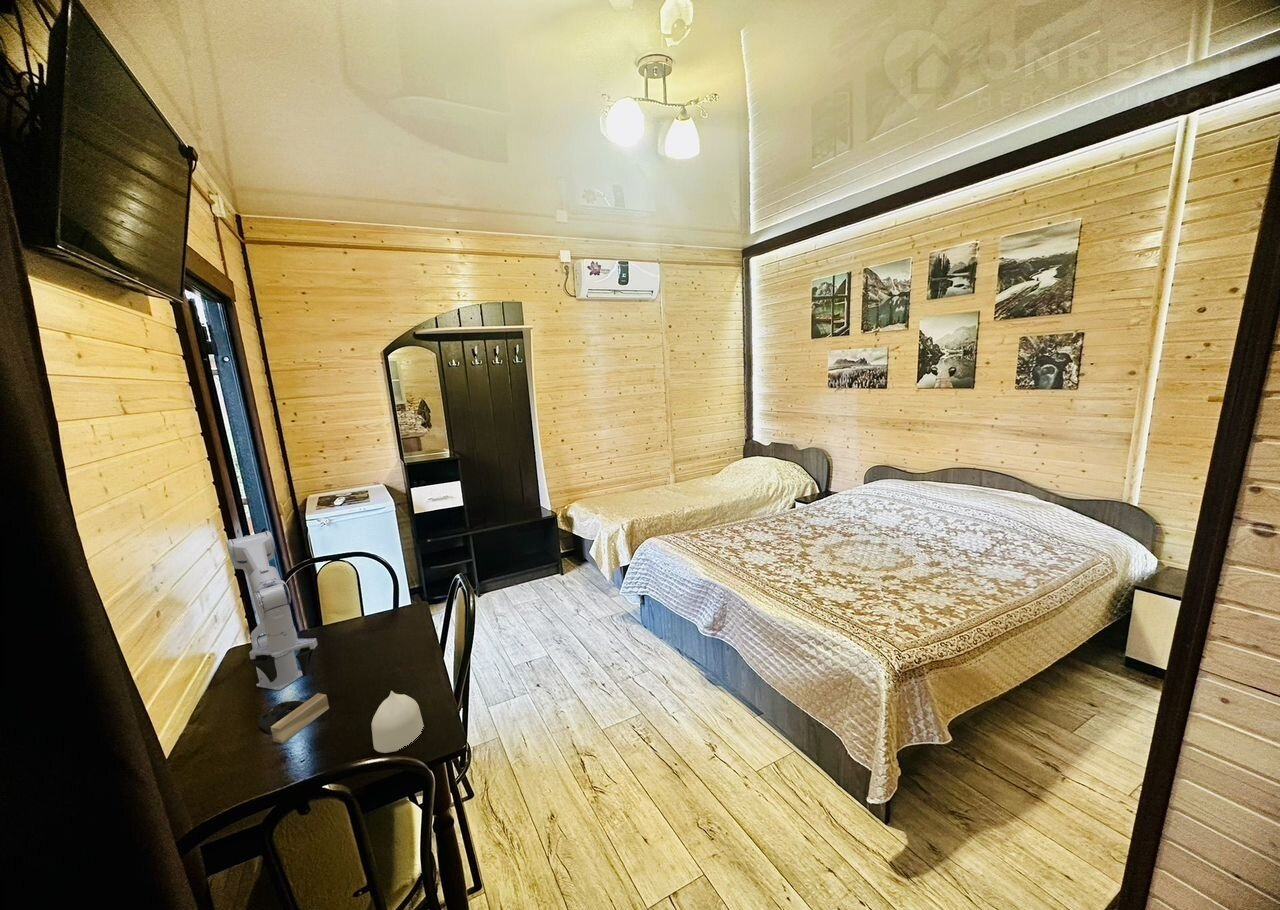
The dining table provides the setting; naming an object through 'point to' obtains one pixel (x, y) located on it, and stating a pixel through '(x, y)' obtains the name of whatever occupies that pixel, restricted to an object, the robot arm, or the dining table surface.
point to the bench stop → (299, 718)
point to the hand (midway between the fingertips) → (290, 676)
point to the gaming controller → (277, 714)
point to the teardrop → (396, 723)
